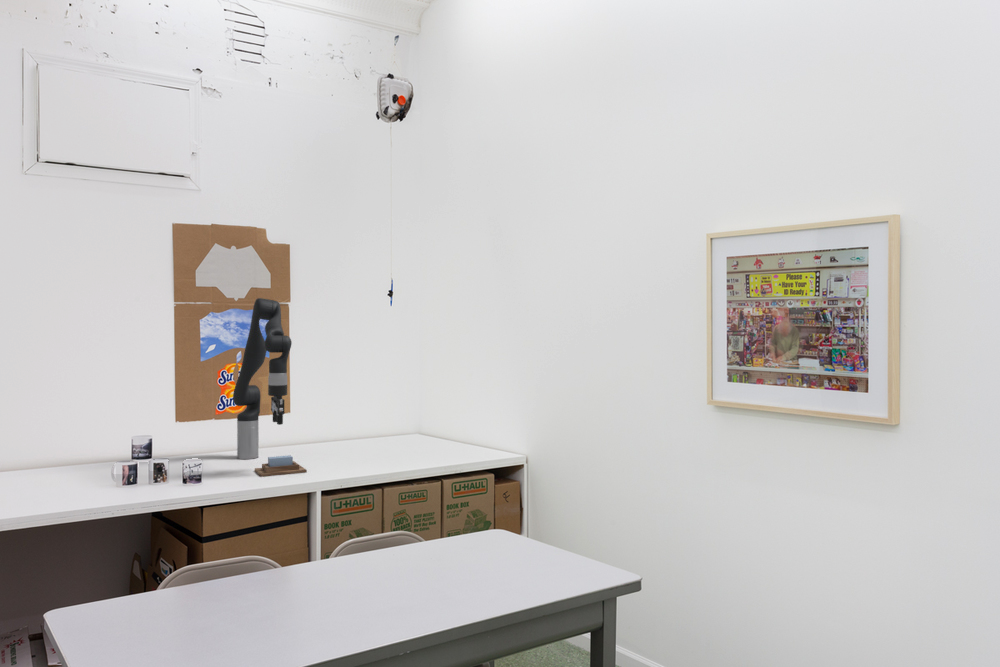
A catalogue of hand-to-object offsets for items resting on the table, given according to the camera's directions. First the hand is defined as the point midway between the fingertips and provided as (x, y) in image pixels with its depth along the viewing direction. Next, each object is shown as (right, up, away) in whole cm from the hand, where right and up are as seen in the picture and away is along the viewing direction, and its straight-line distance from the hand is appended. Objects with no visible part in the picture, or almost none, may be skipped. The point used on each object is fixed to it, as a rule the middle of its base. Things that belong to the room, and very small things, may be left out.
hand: (277, 423), depth 290 cm
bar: (+1, -19, 0) cm, 19 cm away
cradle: (+1, -20, 0) cm, 20 cm away
